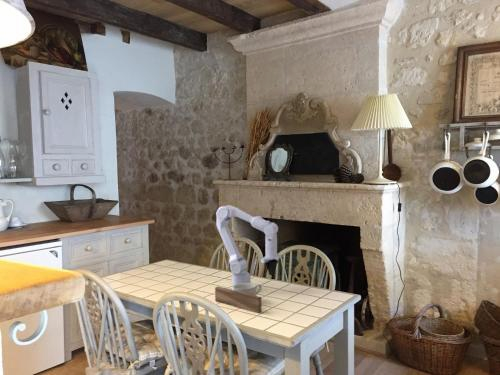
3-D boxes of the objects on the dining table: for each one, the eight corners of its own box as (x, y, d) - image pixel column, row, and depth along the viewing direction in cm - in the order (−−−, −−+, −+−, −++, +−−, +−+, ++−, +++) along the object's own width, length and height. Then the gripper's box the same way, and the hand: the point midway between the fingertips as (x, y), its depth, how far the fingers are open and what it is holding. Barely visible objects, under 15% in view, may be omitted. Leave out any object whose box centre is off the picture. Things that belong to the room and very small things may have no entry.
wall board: (218, 300, 187) (218, 286, 187) (261, 312, 171) (261, 297, 171) (215, 301, 186) (215, 287, 186) (258, 313, 169) (258, 298, 169)
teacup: (236, 307, 177) (235, 289, 177) (230, 299, 188) (230, 283, 187) (265, 304, 181) (265, 287, 181) (259, 297, 191) (258, 280, 191)
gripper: (268, 251, 187) (269, 279, 188) (286, 246, 199) (286, 273, 199) (257, 249, 192) (257, 276, 193) (274, 244, 203) (275, 270, 204)
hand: (271, 274), depth 196 cm, fingers closed
